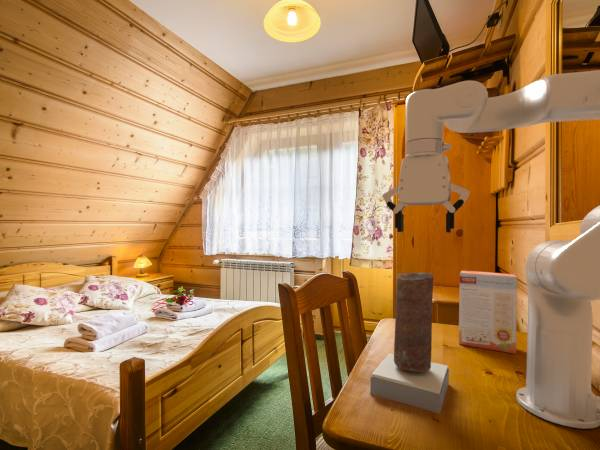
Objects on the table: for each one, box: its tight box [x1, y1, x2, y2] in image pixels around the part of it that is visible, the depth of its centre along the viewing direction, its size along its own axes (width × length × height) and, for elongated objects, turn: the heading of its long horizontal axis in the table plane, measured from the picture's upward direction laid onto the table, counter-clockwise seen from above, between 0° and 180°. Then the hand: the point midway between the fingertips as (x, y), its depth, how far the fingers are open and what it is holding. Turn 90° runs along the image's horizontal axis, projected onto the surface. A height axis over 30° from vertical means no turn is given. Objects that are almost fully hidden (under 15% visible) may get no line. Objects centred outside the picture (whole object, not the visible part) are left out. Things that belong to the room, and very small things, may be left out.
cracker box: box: [458, 270, 518, 355], centre depth 94 cm, size 14×6×21 cm, turn 59°
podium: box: [369, 352, 450, 415], centre depth 68 cm, size 13×13×4 cm
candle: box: [393, 272, 434, 372], centre depth 68 cm, size 8×7×20 cm
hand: (423, 232), depth 70 cm, fingers open, 9 cm apart
